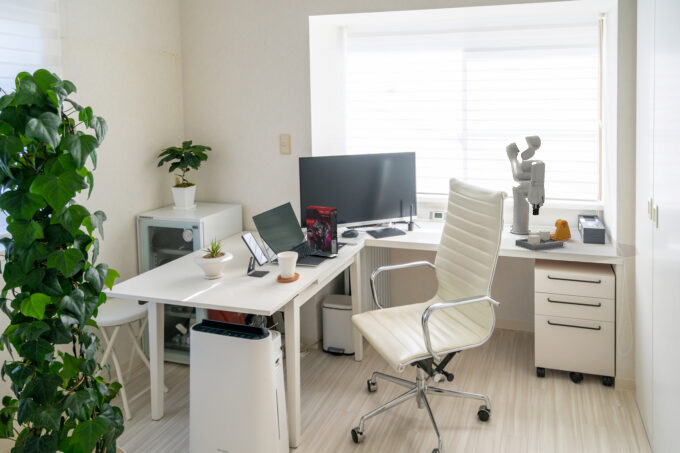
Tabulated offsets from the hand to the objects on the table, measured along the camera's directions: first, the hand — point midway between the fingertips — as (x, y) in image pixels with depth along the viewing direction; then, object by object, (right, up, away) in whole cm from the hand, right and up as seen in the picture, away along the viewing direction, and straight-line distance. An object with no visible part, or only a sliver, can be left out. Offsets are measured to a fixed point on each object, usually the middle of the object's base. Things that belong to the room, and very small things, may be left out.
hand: (535, 214), depth 360 cm
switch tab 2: (-5, -17, -12) cm, 21 cm away
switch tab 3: (+5, -14, 0) cm, 15 cm away
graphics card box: (-123, -23, -17) cm, 126 cm away
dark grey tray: (0, -18, -6) cm, 19 cm away
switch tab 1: (-1, -15, -2) cm, 15 cm away
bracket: (+17, -14, +10) cm, 25 cm away
